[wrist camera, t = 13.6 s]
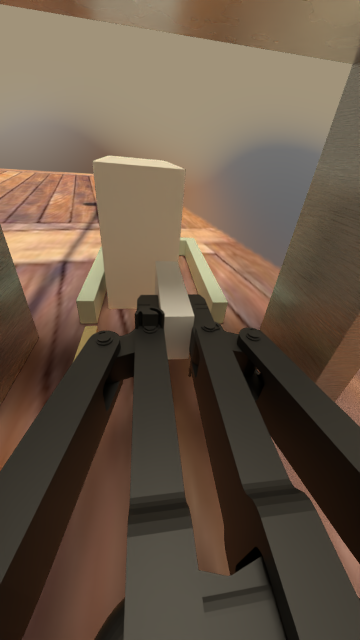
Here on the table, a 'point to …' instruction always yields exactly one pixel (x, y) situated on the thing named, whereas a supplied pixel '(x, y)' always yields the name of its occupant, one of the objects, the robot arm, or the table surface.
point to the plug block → (137, 223)
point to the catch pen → (200, 271)
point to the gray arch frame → (320, 204)
